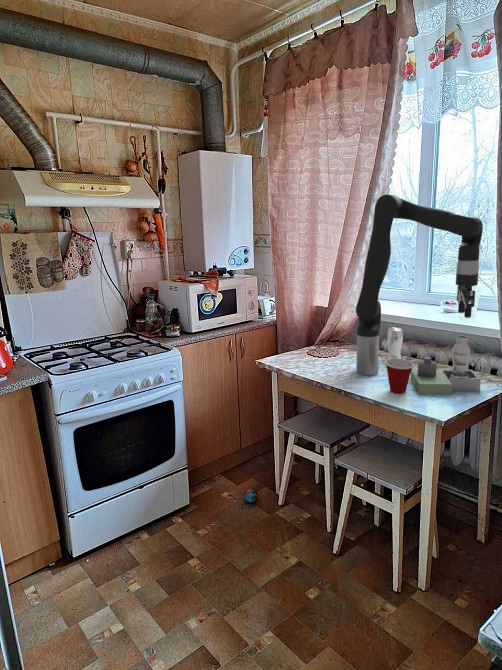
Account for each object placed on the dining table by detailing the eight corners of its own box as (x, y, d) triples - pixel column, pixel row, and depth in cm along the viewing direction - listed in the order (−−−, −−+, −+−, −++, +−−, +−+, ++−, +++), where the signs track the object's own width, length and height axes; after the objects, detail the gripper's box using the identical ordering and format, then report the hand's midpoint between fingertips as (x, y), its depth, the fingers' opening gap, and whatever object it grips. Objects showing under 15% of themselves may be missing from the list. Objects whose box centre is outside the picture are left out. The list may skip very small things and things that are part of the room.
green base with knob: (418, 393, 176) (419, 366, 173) (410, 378, 193) (411, 352, 190) (451, 394, 174) (453, 366, 171) (440, 378, 191) (441, 352, 188)
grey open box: (449, 390, 177) (450, 378, 176) (442, 381, 188) (443, 369, 186) (479, 391, 175) (480, 378, 174) (471, 381, 186) (472, 369, 185)
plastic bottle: (470, 389, 178) (474, 339, 173) (451, 388, 179) (454, 339, 174) (466, 383, 184) (469, 335, 179) (448, 382, 185) (451, 335, 181)
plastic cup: (403, 398, 172) (404, 368, 169) (378, 391, 180) (379, 362, 177) (418, 391, 179) (419, 361, 176) (393, 384, 187) (394, 356, 184)
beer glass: (403, 358, 219) (404, 328, 216) (399, 362, 214) (400, 331, 210) (389, 356, 223) (389, 326, 219) (384, 360, 217) (385, 330, 214)
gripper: (451, 270, 178) (449, 311, 182) (462, 275, 164) (458, 319, 168) (472, 270, 177) (469, 311, 181) (484, 274, 163) (480, 319, 167)
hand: (464, 315), depth 175 cm, fingers open, 8 cm apart
